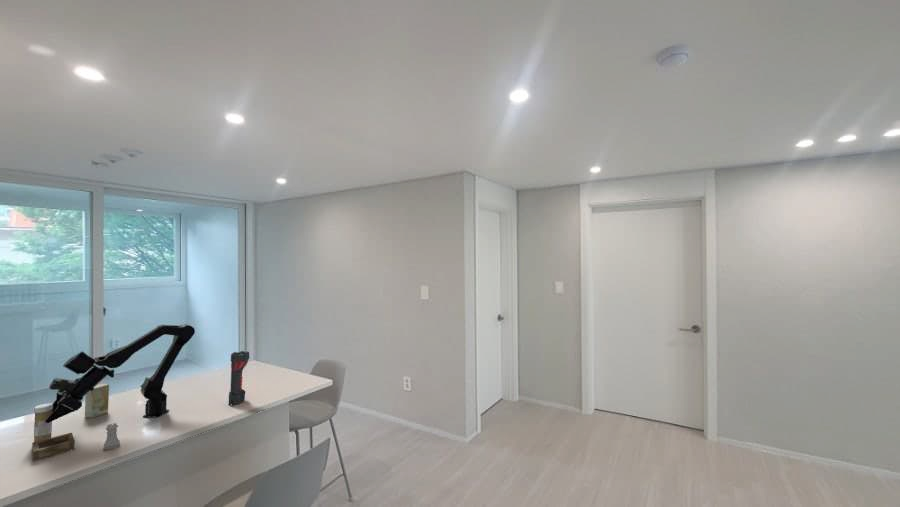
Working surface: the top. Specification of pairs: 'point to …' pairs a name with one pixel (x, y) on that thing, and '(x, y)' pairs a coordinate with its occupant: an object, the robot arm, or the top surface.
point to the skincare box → (97, 401)
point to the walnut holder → (53, 446)
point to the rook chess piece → (111, 437)
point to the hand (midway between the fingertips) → (45, 418)
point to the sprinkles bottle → (42, 422)
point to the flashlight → (237, 376)
